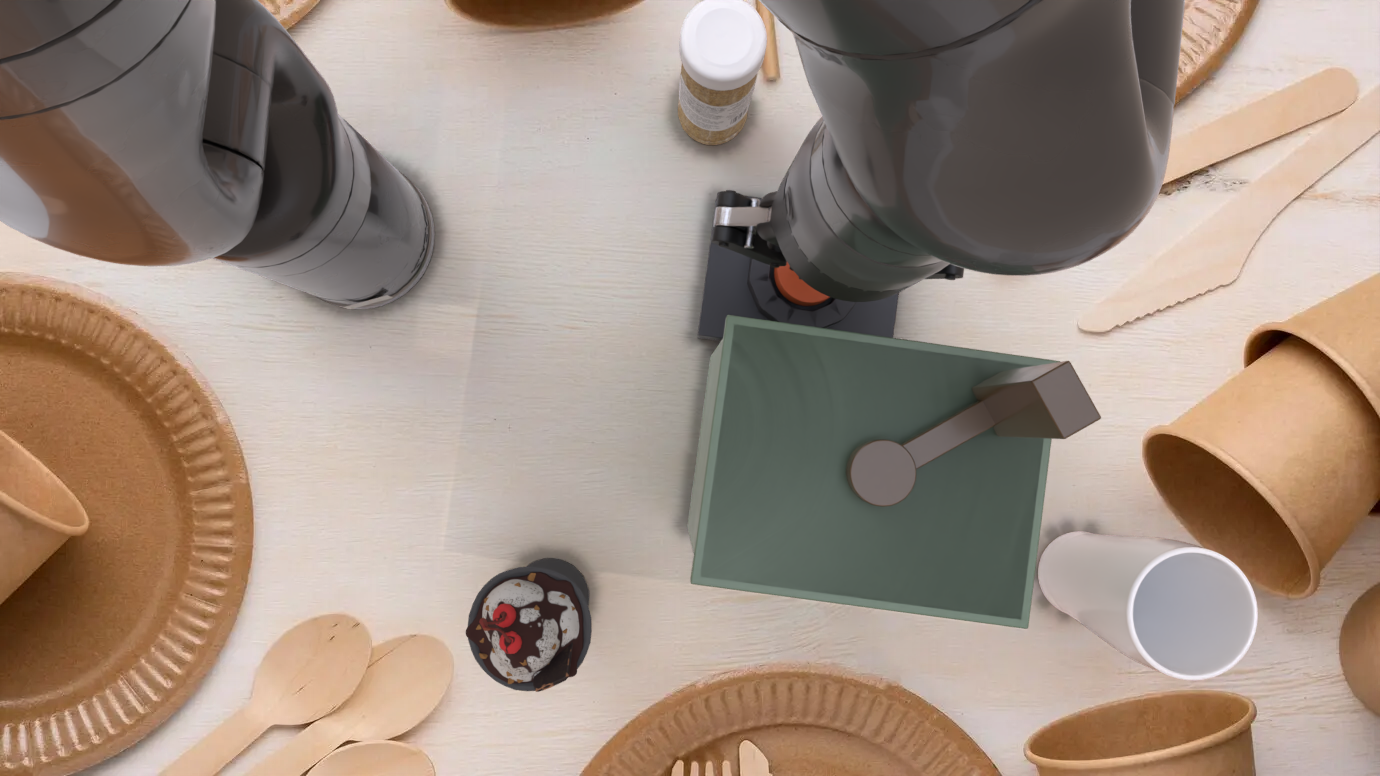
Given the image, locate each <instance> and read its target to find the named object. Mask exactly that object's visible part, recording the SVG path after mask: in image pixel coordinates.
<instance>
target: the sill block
mask: <svg viewBox="0 0 1380 776" xmlns="http://www.w3.org/2000/svg"><path fill="white" fill-rule="evenodd" d="M1057 362H1061V360H1056V359H1055V360H1054V359H1050V358H1049V359H1048V358H1041V357H1034V356H1028V355H1027V356H1026V355H1020V354H1012V353H1006V352H1005V353H1004V352H998V351H990V350H985V349H984V350H983V349H977V348H971V347H969V348H968V347H961V346H955V345H949V344H941V343H934V342H926V341H918V340H912V339H904V338H898V337H893V338H891V337H884V336H877V335H869V334H862V333H855V332H848V331H841V330H833V329H826V328H819V327H812V326H805V325H798V324H790V323H783V322H776V321H769V320H762V319H754V318H747V317H740V316H733V315H727V317H726V320H725V328H724V335H723V339H722V340H721V341H719V343H718V344H717V346H716V348H714V350H713V352H712V353H711V354H710V355H709V362H708V364H709V365H708V371H707V378H706V383H705V392H704V400H703V408H702V414H701V420H700V421H701V422H700V429H699V436H698V444H697V451H696V459H695V466H694V474H693V481H692V488H691V494H690V495H691V496H690V501H689V502H690V503H689V509H688V517H687V523H686V524H687V525H686V527H687V528H686V529H687V531H688V536H689V537H688V538H689V541H690V546H691V549H692V555H693V557H692V563H691V572H690V579H689V581H690V584H691V585H695V586H702V587H711V588H718V589H725V590H731V591H740V592H747V593H754V594H761V595H771V596H777V597H784V598H792V599H800V600H806V601H815V602H820V603H821V602H822V603H830V604H835V605H842V606H843V605H844V606H850V607H851V606H852V607H860V608H867V609H873V610H874V609H875V610H881V611H888V612H889V611H890V612H896V613H903V614H904V613H905V614H910V615H912V614H913V615H918V616H925V617H934V618H941V619H949V620H957V621H964V622H970V623H978V624H985V625H992V626H993V625H994V626H1001V627H1009V628H1016V629H1023V630H1028V629H1029V627H1030V625H1029V624H1030V617H1031V609H1032V601H1033V593H1034V585H1035V578H1036V577H1035V575H1036V569H1037V561H1038V553H1039V544H1040V538H1041V537H1040V536H1041V528H1042V520H1043V512H1044V505H1045V495H1046V488H1047V479H1048V472H1049V463H1050V455H1051V447H1052V440H1053V439H1047V438H1020V437H998V436H997V434H996V432H995V431H994V429H993V427H991V428H990V429H988V430H986V431H984V432H982V433H981V434H979V435H977V436H975V437H974V438H972V439H970V440H968V441H966V442H965V443H963V444H961V445H959V446H958V447H956V448H954V449H952V450H950V451H949V452H947V453H945V454H943V455H942V456H940V457H938V458H936V459H934V460H933V461H931V462H929V463H927V464H925V465H924V466H922V467H920V468H918V469H917V470H916V473H917V474H916V481H915V485H914V487H913V489H912V491H911V492H910V494H909V495H908V496H907V497H906V498H905V499H904V500H903V501H901V502H899V503H897V504H895V505H892V506H887V507H880V506H875V505H872V504H869V503H866V502H864V501H862V500H861V499H859V498H858V497H857V496H856V495H855V494H854V493H853V491H852V490H851V488H850V486H849V484H848V481H847V477H846V467H847V463H848V460H849V458H850V456H851V454H852V453H853V451H854V450H855V449H856V448H857V447H858V446H859V445H861V444H863V443H864V442H867V441H870V440H874V439H884V440H891V441H894V442H897V443H899V444H901V443H903V442H905V441H906V440H908V439H910V438H912V437H914V436H915V435H917V434H919V433H921V432H922V431H924V430H926V429H928V428H930V427H931V426H933V425H935V424H937V423H939V422H940V421H942V420H944V419H946V418H947V417H949V416H951V415H953V414H955V413H956V412H958V411H960V410H962V409H963V408H965V407H967V406H969V405H971V404H972V403H974V402H976V401H978V400H977V398H976V397H975V395H974V393H973V391H972V387H974V386H976V385H978V384H979V383H981V382H983V381H985V380H987V379H988V378H990V377H992V376H994V375H995V374H997V373H999V372H1001V371H1006V370H1012V369H1018V368H1025V367H1031V366H1037V365H1044V364H1050V363H1057Z"/></svg>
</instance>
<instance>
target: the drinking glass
mask: <svg viewBox="0 0 1380 776" xmlns="http://www.w3.org/2000/svg"><path fill="white" fill-rule="evenodd" d="M1037 579H1038V583H1039V587H1040V590H1041V591H1042V594H1043V596H1044V597H1045V599H1046V600H1047V601H1048V602H1049V603H1050V605H1052V606H1053V607H1054V608H1056V609H1057V610H1059V611H1060V612H1062V613H1064V614H1066V615H1068V616H1069V617H1071V618H1073V619H1074V620H1075V621H1076V622H1078V623H1079V624H1080V625H1082V626H1084V627H1085V628H1086V629H1088V630H1089V631H1090V632H1092V633H1093V634H1094V635H1096V636H1097V637H1098V638H1100V639H1101V640H1102V641H1104V642H1105V643H1106V644H1107V645H1109V646H1111V647H1112V648H1113V649H1114V650H1115V651H1117V652H1119V653H1120V654H1122V655H1124V656H1125V657H1127V658H1129V659H1130V660H1132V661H1134V662H1136V663H1138V664H1140V665H1142V666H1144V667H1146V668H1148V669H1150V670H1152V671H1156V672H1158V673H1161V674H1164V675H1166V676H1168V677H1171V678H1173V679H1178V680H1182V681H1203V680H1209V679H1213V678H1215V677H1219V676H1221V675H1222V674H1225V673H1226V672H1227V671H1229V670H1231V669H1232V668H1233V667H1235V666H1236V665H1237V664H1238V663H1239V662H1240V661H1242V659H1243V658H1244V657H1245V655H1246V654H1247V652H1248V650H1249V649H1250V648H1251V646H1252V643H1253V641H1254V638H1255V636H1256V632H1257V628H1258V622H1259V612H1258V611H1259V610H1258V602H1257V597H1256V594H1255V591H1254V588H1253V586H1252V584H1251V582H1250V580H1249V579H1248V577H1247V576H1246V575H1245V573H1244V571H1242V569H1241V568H1240V567H1239V566H1238V565H1237V564H1236V563H1235V562H1233V560H1231V559H1230V558H1228V557H1227V556H1225V555H1223V554H1221V553H1219V552H1217V551H1215V550H1212V549H1208V548H1205V547H1203V546H1200V545H1197V544H1193V543H1190V542H1186V541H1182V540H1178V539H1177V540H1176V539H1173V538H1172V539H1171V538H1165V537H1158V536H1144V535H1143V536H1141V535H1122V534H1121V535H1120V534H1119V535H1118V534H1104V533H1103V534H1102V533H1094V532H1091V531H1084V530H1083V531H1082V530H1079V531H1078V530H1076V531H1070V532H1067V533H1064V534H1061V535H1059V536H1057V537H1056V538H1055V539H1053V540H1052V541H1051V542H1050V543H1049V544H1047V546H1046V548H1045V549H1044V551H1043V552H1042V554H1041V556H1040V559H1039V562H1038V568H1037Z"/></svg>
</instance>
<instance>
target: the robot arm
mask: <svg viewBox="0 0 1380 776" xmlns="http://www.w3.org/2000/svg"><path fill="white" fill-rule="evenodd" d="M758 2H760V3H761V5H762V6H763V7H765V8H766V9H767V11H768V12H769V13H771V15H773V16H774V17H775V18H776V19H777V20H778V21H779V22H780V24H782V25H783V26H784V27H785V28H786V29H787V30H788V31H789V32H790V33H792V36H793V39H794V42H795V45H796V48H797V51H798V55H799V58H800V62H801V65H802V69H803V71H804V75H805V77H806V81H807V85H808V87H809V89H810V91H811V95H812V96H813V98H814V100H815V103H816V105H817V107H818V110H819V112H820V114H821V117H820V118H819V119H818V120H817V121H816V122H815V124H814V125H813V127H812V128H811V129H810V130H809V132H808V133H807V135H806V137H805V139H804V140H803V142H802V144H801V146H800V148H799V149H798V151H797V153H796V155H795V156H794V158H793V160H792V162H791V164H790V166H789V168H788V169H787V171H786V173H785V174H784V176H783V178H782V180H781V182H780V183H779V187H778V189H777V191H771V192H769V193H767V194H765V195H764V196H763V197H761V198H762V199H761V201H760V200H759V199H756V198H751V199H750V198H748V197H746V196H747V195H743V194H741V193H739V192H737V191H736V190H731V189H727V190H721V191H718V192H717V193H718V199H717V206H716V210H715V209H714V210H715V218H714V225H713V224H712V225H713V227H714V228H713V235H712V243H714V244H717V245H718V246H719V247H724V248H727V249H729V250H732V251H734V252H737V253H739V254H742V255H744V256H747V257H749V258H752V259H754V260H757V261H760V262H762V263H765V264H768V265H770V267H774V268H779V266H786V264H787V262H788V264H789V265H790V268H789V269H790V270H792V271H794V272H795V273H796V274H797V275H798V276H799V279H801V280H803V281H804V282H805V283H807V284H808V285H809V286H810V287H812V288H813V289H815V290H817V291H819V292H820V293H822V294H825V295H827V296H829V297H832V298H835V299H839V300H843V301H849V302H870V301H876V300H880V299H884V298H887V297H890V296H892V295H895V294H897V293H899V294H900V293H901V292H902V291H905V290H906V289H908V288H910V287H912V286H914V285H915V284H918V283H920V282H922V281H924V280H943V279H944V280H947V281H955V280H956V279H963V278H964V274H965V270H968V271H971V272H977V273H980V274H988V275H995V276H1016V277H1017V276H1019V277H1020V276H1021V277H1028V276H1040V275H1047V274H1054V273H1058V272H1062V271H1066V270H1070V269H1072V268H1075V267H1079V266H1081V265H1083V264H1086V263H1088V262H1091V261H1092V260H1094V259H1096V258H1099V257H1100V256H1102V255H1104V254H1105V253H1107V252H1109V251H1111V250H1112V249H1113V248H1115V247H1117V246H1118V245H1119V244H1121V243H1122V242H1123V241H1125V240H1126V239H1127V238H1128V237H1129V236H1130V235H1132V233H1134V231H1136V229H1137V228H1138V227H1139V226H1140V225H1141V224H1142V222H1143V221H1144V220H1145V218H1146V217H1147V216H1148V214H1149V213H1150V212H1151V210H1152V208H1153V206H1154V204H1156V203H1155V202H1156V201H1157V199H1158V197H1159V195H1160V192H1161V189H1162V187H1163V184H1164V181H1165V177H1166V172H1167V167H1168V163H1169V158H1170V150H1171V143H1172V142H1171V141H1172V133H1173V125H1174V115H1175V109H1174V107H1175V103H1176V94H1177V85H1178V75H1179V66H1180V64H1179V63H1180V56H1181V46H1182V37H1183V29H1184V28H1183V27H1184V17H1185V8H1186V0H758ZM338 112H339V111H338V107H337V102H336V100H335V96H334V93H333V91H332V89H331V87H330V85H329V83H328V82H327V80H326V78H324V75H322V73H321V72H320V71H319V70H318V69H317V67H316V66H315V64H314V63H313V62H312V60H310V59H309V57H308V56H307V55H306V53H305V51H303V49H302V48H301V47H300V46H299V44H298V43H297V42H296V40H295V39H294V38H293V36H292V35H291V34H290V32H288V30H287V29H286V28H285V27H284V26H283V24H282V23H281V22H280V21H279V20H278V19H277V17H276V16H275V15H274V14H273V13H272V12H271V11H270V10H269V9H268V8H267V7H266V6H265V5H264V4H263V3H261V1H259V0H0V222H1V223H2V224H4V225H6V226H7V227H9V228H10V229H13V230H14V231H16V232H18V233H20V234H23V235H24V236H26V237H27V238H30V239H32V240H35V241H37V242H39V243H42V244H44V245H46V246H49V247H52V248H54V249H57V250H60V251H63V252H67V253H70V254H73V255H76V256H79V257H84V258H88V259H92V260H95V261H99V262H100V261H101V262H105V263H106V262H107V263H109V264H110V263H111V264H116V265H124V266H134V267H148V268H149V267H150V268H154V267H155V268H158V267H159V268H160V267H176V266H185V265H191V264H195V263H199V262H203V261H208V260H211V259H212V260H215V261H218V262H221V263H223V264H226V265H228V266H232V267H234V268H237V269H240V270H242V271H245V272H248V273H252V274H254V275H256V276H259V277H262V278H265V279H268V280H271V281H273V282H276V283H278V284H282V285H284V286H287V287H289V288H292V289H295V290H298V291H300V292H304V293H306V294H307V295H308V294H309V295H311V296H313V297H316V298H317V299H319V300H320V301H323V302H325V303H328V304H330V305H333V306H336V307H340V308H344V309H347V310H369V309H374V308H379V307H382V306H386V305H389V304H390V303H393V302H394V301H397V300H398V299H400V298H401V297H403V296H405V294H408V292H410V290H411V289H413V288H414V287H415V286H416V285H417V284H418V282H419V281H420V279H421V278H422V277H423V275H424V274H425V273H426V270H427V268H428V267H429V264H430V261H431V258H432V255H433V252H434V246H435V238H436V237H435V235H436V234H435V233H436V232H435V224H434V223H435V222H434V218H433V214H432V211H431V208H430V206H429V203H428V202H427V200H426V198H425V196H424V195H423V193H422V192H421V190H420V189H419V188H418V186H416V184H414V182H413V181H412V180H411V179H409V177H408V176H407V175H405V174H404V173H402V171H400V170H398V169H397V168H396V167H395V166H394V165H393V164H392V163H391V162H390V161H389V160H388V159H387V158H386V157H385V156H384V155H383V154H382V153H381V152H379V151H378V149H376V148H375V146H373V145H372V144H371V143H370V142H369V141H368V140H367V139H366V138H365V137H364V136H362V135H361V134H360V133H359V132H358V130H356V128H354V127H353V126H352V125H351V124H350V123H349V122H348V120H346V119H345V118H344V117H342V115H340V114H339V113H338Z"/></svg>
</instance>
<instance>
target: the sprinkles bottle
mask: <svg viewBox="0 0 1380 776" xmlns="http://www.w3.org/2000/svg"><path fill="white" fill-rule="evenodd" d="M767 44H768V34H767V29H766V25H765V22H764V20H763V18H762V17H761V15H760V14H759V12H758V11H757V10H756V8H755V7H754V6H753V5H751V4H750V3H749V2H747V1H745V0H701V1H700V2H698V3H697V4H695V5H694V6H693V7H692V8H691V9H690V10H689V12H688V13H687V15H686V16H685V18H684V20H683V22H682V25H681V28H680V33H679V43H678V51H679V58H680V62H681V66H680V67H681V68H680V72H679V84H678V85H679V87H678V91H679V92H678V103H677V104H678V105H677V116H678V120H679V123H680V126H681V128H682V130H683V131H684V132H685V133H686V134H687V135H688V137H690V138H691V139H692V140H694V141H696V142H698V143H700V144H703V145H707V146H716V145H722V144H725V143H726V144H727V143H728V142H730V141H731V140H733V139H734V138H735V137H737V136H738V135H739V133H740V132H741V131H742V130H743V129H744V127H745V124H746V122H747V119H748V111H749V108H750V104H751V101H752V97H753V95H754V91H755V87H756V83H757V79H758V75H759V71H760V69H761V68H762V65H763V63H764V60H765V56H766V51H767Z"/></svg>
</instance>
